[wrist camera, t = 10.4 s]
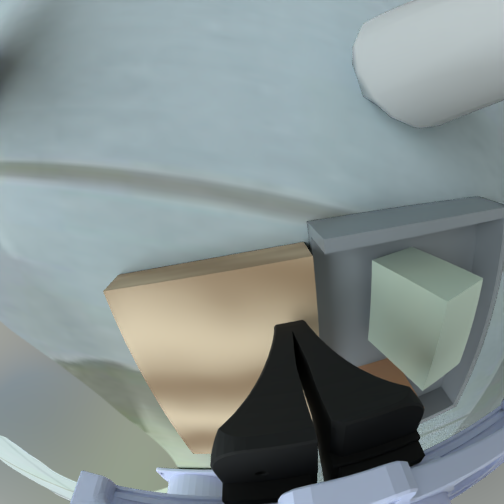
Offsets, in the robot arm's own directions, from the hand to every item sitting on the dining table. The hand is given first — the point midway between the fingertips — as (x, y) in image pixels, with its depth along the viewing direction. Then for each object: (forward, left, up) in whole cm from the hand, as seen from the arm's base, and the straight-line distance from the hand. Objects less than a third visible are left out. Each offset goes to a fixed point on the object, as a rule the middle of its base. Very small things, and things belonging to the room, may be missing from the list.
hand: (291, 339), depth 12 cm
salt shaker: (+11, -7, -3) cm, 14 cm away
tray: (-4, -8, -3) cm, 9 cm away
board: (-4, +4, -3) cm, 6 cm away
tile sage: (0, -5, +1) cm, 5 cm away
